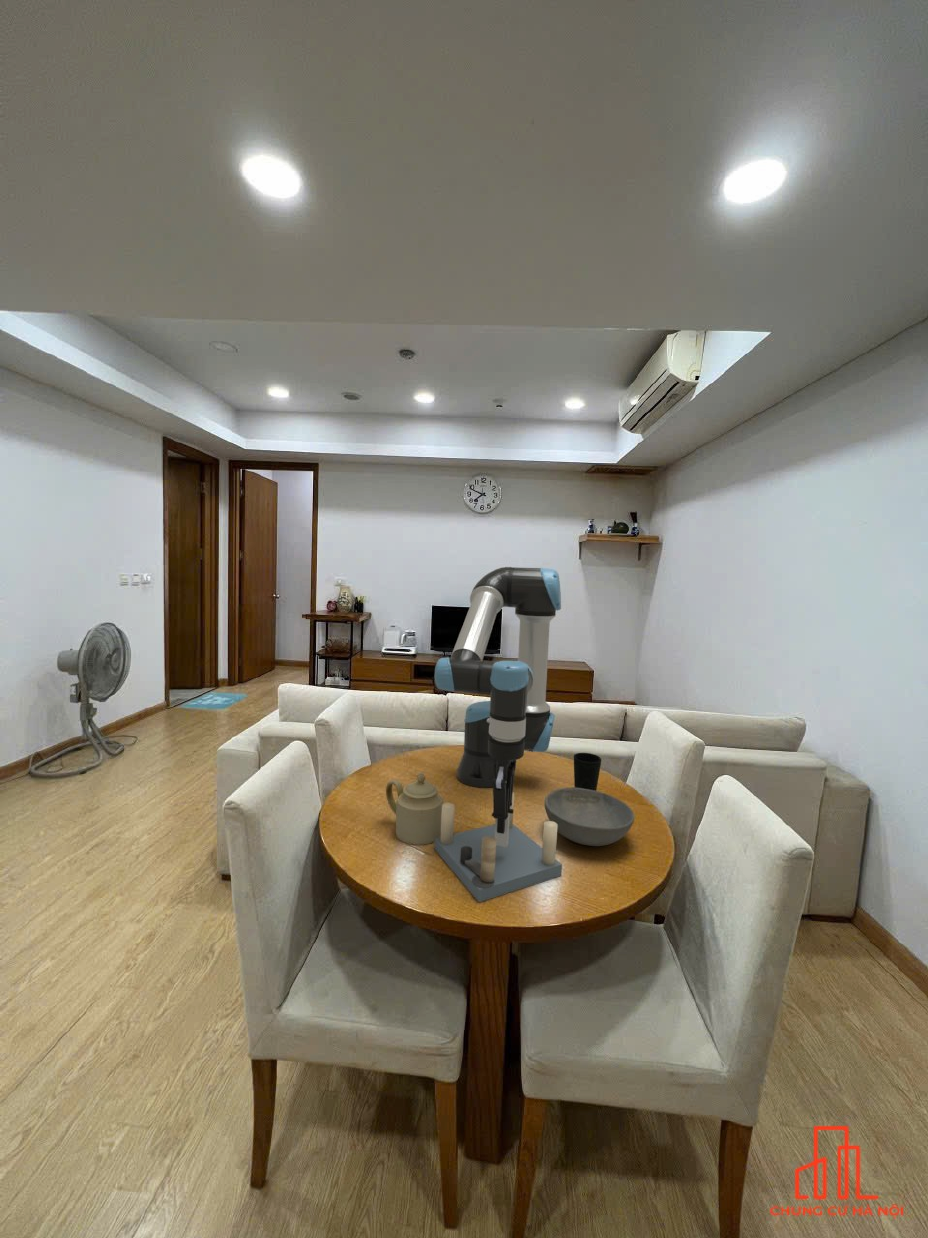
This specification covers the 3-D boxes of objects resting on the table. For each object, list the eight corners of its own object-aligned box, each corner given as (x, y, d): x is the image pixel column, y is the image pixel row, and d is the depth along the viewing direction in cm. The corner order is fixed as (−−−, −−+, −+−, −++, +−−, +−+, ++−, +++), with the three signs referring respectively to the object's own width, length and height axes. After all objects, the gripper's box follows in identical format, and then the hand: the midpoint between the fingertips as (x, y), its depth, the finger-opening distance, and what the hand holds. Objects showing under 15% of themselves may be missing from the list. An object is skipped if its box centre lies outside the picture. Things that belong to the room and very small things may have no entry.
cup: (599, 806, 135) (602, 764, 134) (571, 802, 137) (573, 760, 136) (597, 794, 143) (600, 754, 142) (570, 791, 144) (573, 751, 143)
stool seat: (433, 849, 111) (435, 803, 110) (508, 830, 120) (510, 788, 119) (478, 903, 93) (481, 849, 92) (561, 876, 103) (565, 827, 102)
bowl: (537, 813, 130) (539, 784, 129) (617, 817, 130) (619, 788, 129) (549, 859, 109) (551, 824, 108) (644, 864, 108) (646, 829, 108)
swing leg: (457, 859, 102) (458, 823, 101) (467, 855, 104) (469, 820, 103) (486, 884, 94) (488, 845, 94) (497, 879, 96) (499, 841, 95)
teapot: (373, 841, 113) (375, 778, 112) (386, 818, 124) (388, 760, 123) (437, 848, 112) (440, 784, 110) (445, 823, 122) (447, 765, 121)
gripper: (495, 725, 109) (491, 826, 112) (481, 744, 97) (476, 857, 99) (529, 729, 107) (523, 832, 109) (518, 749, 95) (512, 865, 97)
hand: (501, 844), depth 104 cm, fingers closed
